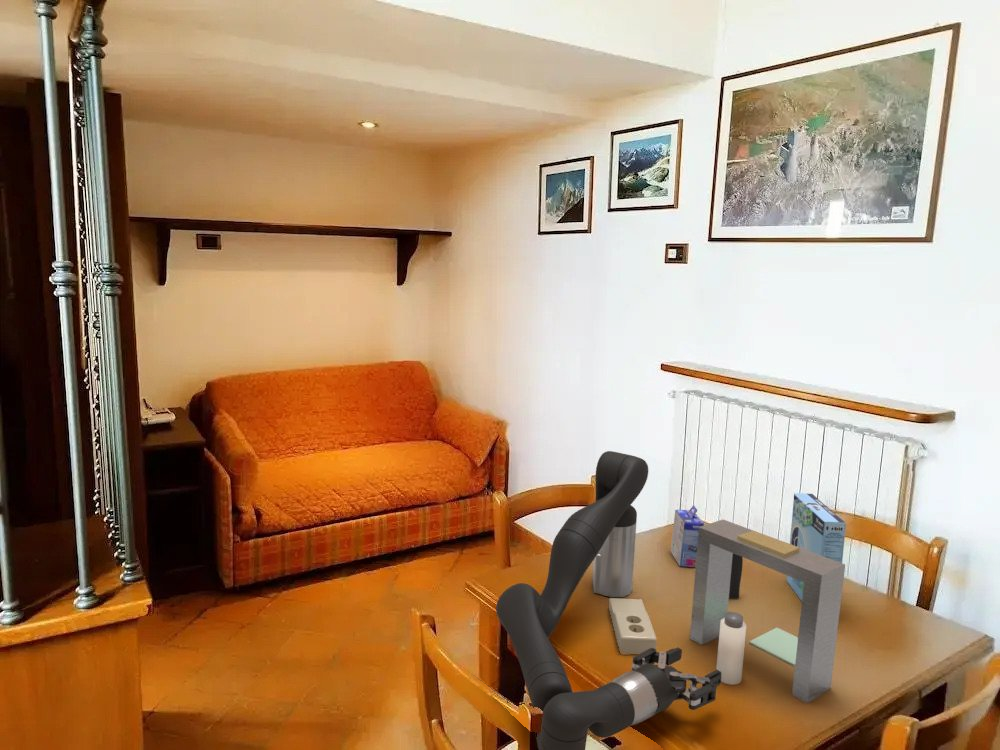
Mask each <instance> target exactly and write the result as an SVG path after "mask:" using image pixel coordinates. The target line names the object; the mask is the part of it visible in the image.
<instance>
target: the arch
mask: <svg viewBox="0 0 1000 750" xmlns="http://www.w3.org/2000/svg"><path fill="white" fill-rule="evenodd" d="M733 553H734V554H736V555H739V556H741V557H742V558H745V559H747V560H749V561H751V562H754V563H756V564H759V565H761V566H764V567H766V568H768V569H771V570H773V571H776V572H778V573H781V574H783V575H786V576H787V575H788V576H790V577H793V578H795V579H797V580H800V581H802V582H804V588H803V597H802V601H801V608H800V618H799V627H798V635H797V636H798V644H797V653H796V662H795V666H794V673H793V680H792V681H793V684H792V689H791V690H792V691H791V693H792V694H791V696H793V697H795V698H796V699H798V700H800V701H802V702H804V703H806V704H807V705H808V704H809V703H811V702H812V701H815V699H817V698H818V697H820V696H821V695H823V694H825V693H826V692H827V691H829V690H831V688H832V681H833V671H834V663H835V655H836V647H837V638H838V630H839V622H840V613H841V604H842V597H843V590H844V589H843V588H844V580H845V571H846V564H845V563H843V562H842V563H840V562H837V561H835V560H832V559H829V558H826V557H824V556H821V555H818V554H816V553H813V552H810V551H808V550H805V549H802V548H799V547H797V546H794V545H791V544H790V542H785V541H784V540H780V539H778V538H775V537H772V536H769V535H766V534H763V533H761V532H758V531H756V530H753V529H750V528H748V527H745V526H742V525H740V524H737V523H734V522H731V521H729V520H726V519H720V520H717V521H716V520H715V521H713V522H711V523H707V524H704V526H701V527H699V531H698V544H697V556H696V567H695V571H694V580H693V581H694V584H693V595H692V596H693V597H692V607H691V608H692V609H691V621H690V622H691V623H690V631H689V639H690V640H692V641H693V642H695V643H697V644H699V645H700V646H703V645H705V644H707V643H709V642H711V641H714V640H716V639H719V633H720V622H721V619H723V618H725V614H726V613H727V612H729V611H728V610H729V601H730V598H729V590H730V579H731V567H732V556H733Z"/></svg>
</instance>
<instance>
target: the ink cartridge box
mask: <svg viewBox="0 0 1000 750" xmlns="http://www.w3.org/2000/svg"><path fill="white" fill-rule="evenodd" d="M674 510H675V511H674V518H673V528H672V535H671V544H670V545H671V546H670V553H671V554H672V556H673V557H674V559H675V561H676V562H677V564H678V566H679V567H686V568H696V556H697V544H698V531H699V527H701V526H704V525H705V523H704V522H703V521H702V519H701V518H700V516H699V515H698V514H697V512H698V508H696V506H695V505H692V506H691V507H690V509H674Z"/></svg>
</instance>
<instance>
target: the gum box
mask: <svg viewBox="0 0 1000 750" xmlns="http://www.w3.org/2000/svg"><path fill="white" fill-rule="evenodd" d="M846 527H847V523H846V521H844V520H843V519H842V518H841V517H839V515H837V514H836V513H835V512H834V511H833V510H831V509H830V508H829V507H828V506H827V505H825V503H823V502H822V501H821V500H820V499H819V498H818V497H816V496H815V495H814V494H813V493H806V492H803V493H802V492H799V493H798V492H796V493H795V492H794V493H793V503H792V515H791V528H790V538H789V544H791V545H794V546H797V547H799V548H802V549H805V550H808V551H810V552H813V553H816V554H818V555H821V556H824V557H826V558H829V559H832V560H835V561H837V562H840V563H843V559H844V558H843V557H844V551H845V550H844V549H845V537H846V529H847V528H846ZM786 582H787V583H788V585H789V586H790V588H791V589H792V590H793V591H794V593H795V594H796V596H797V597H798V598H799V600H800V601H801V602H802V597H803V588H804V582H802V581H800V580H797V579H795V578H793V577H790V576H788V575H786Z"/></svg>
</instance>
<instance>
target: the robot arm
mask: <svg viewBox="0 0 1000 750" xmlns="http://www.w3.org/2000/svg"><path fill="white" fill-rule="evenodd" d="M648 477H649V465H648V463H647V462H646V460H645V459H643V458H642V457H638V456H635V455H632V454H626V453H622V452H618V451H611V450H607V451H605V452H603V453H602V454H601V455H600V457H599V458H598V460H597V463H596V469H595V480H594V481H595V482H594V483H595V486H594V487H595V501H594V502H593V503H590V504H588V505H585V506H584V507H582V508H580V509H578V510H577V511H575V512H574V513H572V514H571V515H570V516H569V517H568V519H566V521H565V522H564V524H562V526H561V528H560V530H559V531H558V532H557V534H556V535H555V538H554V539H553V542H552V546H551V550H550V555H549V556H550V558H549V563H548V564H549V565H548V571H547V572H548V573H547V578H546V582H545V585H544V588H543V590H542V592H541V593H539V591H537V590H536V588H534V587H533V586H532V585H530V584H529V583H525V582H523V583H522V582H520V583H516V584H513V585H510V586H509V587H508V588H506V589H505V590H504V591H503V592H502V593H501V595H499V597H498V600H497V602H496V607H495V613H496V616H497V618H498V620H499V622H500V624H501V626H502V627H503V628H504V629H505V630H506V633H507V634H508V637H509V639H510V641H511V644H512V646H513V649H514V651H515V654H516V657H517V659H518V663H519V666H520V669H521V671H522V675H523V679H524V682H525V686H526V690H527V693H528V697H529V699H530V702H531V705H532V709H533V708H534V707H538V708H540V709H541V710H542V711H543V716H542V724H541V732H539V734H537V737H536V736H535V738H536V743H537V744H536V745H537V748H538V750H586V746H587V740H588V738H587V737H588V733H589V732H588V731H590V733H591V734H592V735H594V736H596V737H598V738H603V739H604V738H608V737H611V736H613V735H616V734H618V733H620V732H622V731H624V730H625V729H628V728H629V727H631V726H636V725H638V724H640V723H642V722H644V721H646V720H648V719H649V718H652V717H654V716H655V715H657V714H659V713H661V712H663V711H664V710H666V709H668V708H669V707H670V706H671V705H672V704H673V703H674V702H675V701H678V700H679V701H680V700H684V701H686V702H687V703H688V708H689V709H690V710H692V711H695V710H697V709H700V708H702V707H703V706H706V705H708V704H711V703H713V702H714V701H716V697H717V696H716V695H717V687H718V686H720V685H721V683H722V682H721V677H722V675H721V672H720V671H719V670H716V669H715V670H713V671H712V672H710V673H708V674H706V675H704V676H696V675H695V673H684V672H682V671H679V670H678V669H676V668H675V667H674V666H672V664H674V663H676V662H678V661H680V660H681V659H682V654H683V653H682V652H683V650H682V649H681V648H680V647H676V648H671V649H668V650H667V651H663V650H662V651H659V652H658V651H657V648H656V649H655V648H650V649H648V650H646V651H644V652H642V653H640V654H639V655H634V656H633V657H632V666H631V670H629V671H627V672H625V673H623V674H621V675H619V676H617V677H616V678H614V679H613V680H611V681H609V682H608V683H606V684H603V685H601V686H599V687H597V688H595V689H593V690H592V689H591V690H585V691H584V690H581V691H573V689H572V685H571V683H570V680H569V677H568V674H567V672H566V669H565V667H564V664H563V663H562V661H561V659H560V657H559V655H558V654H557V651H556V649H555V647H554V645H552V643H551V641H550V637H551V636H552V634H553V633H554V631H555V630H556V628H557V626H558V623H559V621H560V620H561V618H562V615H563V614H564V611H565V610H566V608H567V605H568V604H569V601H570V599H571V597H572V595H573V593H574V592H575V590H576V588H577V586H578V585H579V583H580V582H581V581H582V578H583V576H584V575H585V573H586V572H587V570H588V569H589V567H590V566H591V564H593V565H592V580H591V583H592V588H593V593H594V594H600V595H602V596H605V597H610V598H623V597H627V596H629V595H630V594H631V593H632V592H633V585H634V583H633V582H634V581H633V580H634V566H635V564H634V563H635V553H636V550H635V549H636V548H635V547H636V534H637V519H638V518H637V517H638V512H637V510H636V508H635V507H634V506H633V505H632V504H633V503H634V501H635V500H636V499H637V497H638V496H639V495H640V494H641V492H642V490H643V489H644V487H645V485H646V483H647V480H648ZM687 681H689V682H690V683H689V687H688V688H687ZM698 684H701V686H697V685H698Z"/></svg>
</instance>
